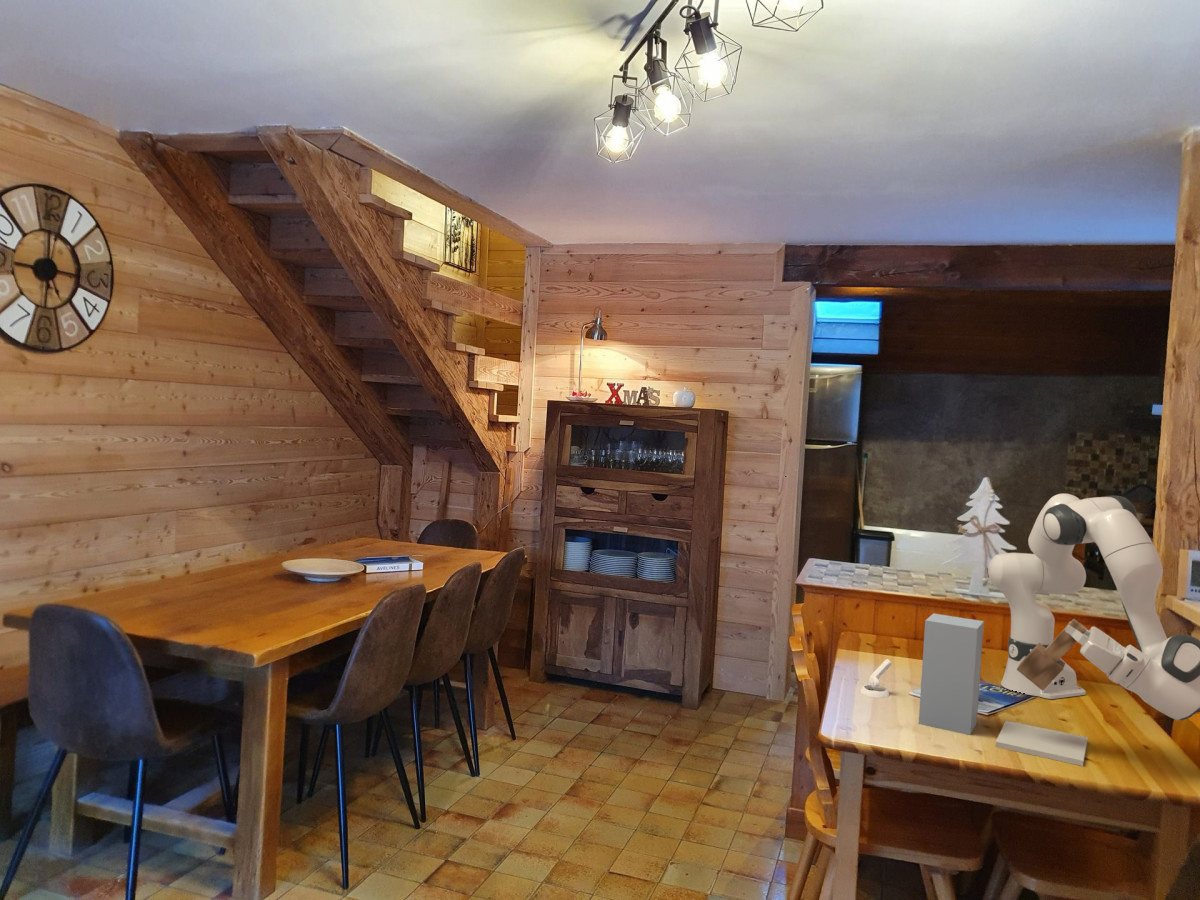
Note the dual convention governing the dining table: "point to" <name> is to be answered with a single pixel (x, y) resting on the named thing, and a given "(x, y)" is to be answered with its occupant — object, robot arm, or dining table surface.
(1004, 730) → the felt pad
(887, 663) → the hook
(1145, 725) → the dining table surface
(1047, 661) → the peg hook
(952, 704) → the post
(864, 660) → the dining table surface
